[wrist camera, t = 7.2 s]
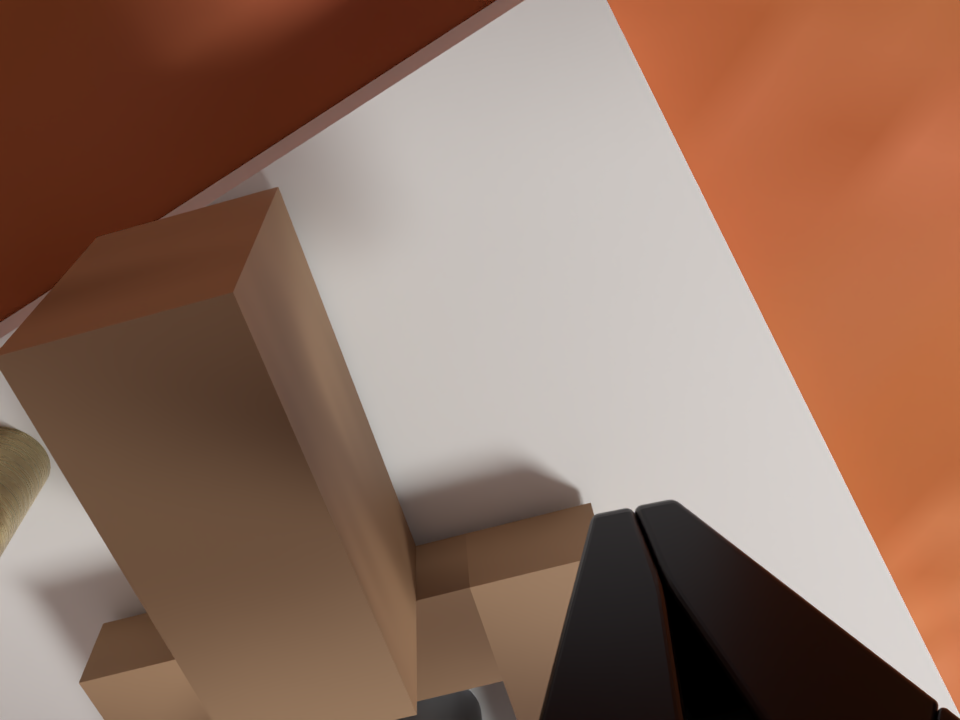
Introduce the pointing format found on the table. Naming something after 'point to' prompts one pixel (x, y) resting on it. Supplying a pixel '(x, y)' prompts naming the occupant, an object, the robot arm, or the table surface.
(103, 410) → the block
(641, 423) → the board
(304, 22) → the table surface
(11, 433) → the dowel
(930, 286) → the table surface
